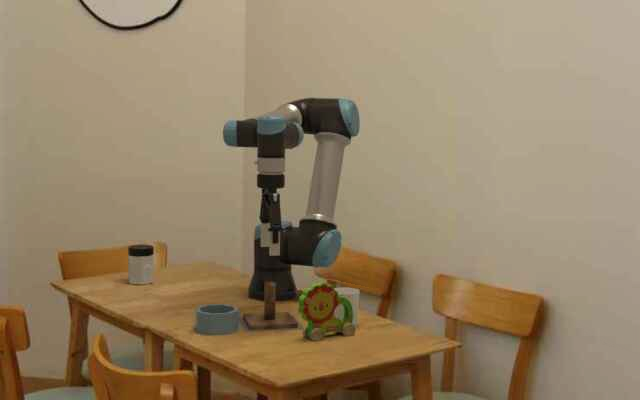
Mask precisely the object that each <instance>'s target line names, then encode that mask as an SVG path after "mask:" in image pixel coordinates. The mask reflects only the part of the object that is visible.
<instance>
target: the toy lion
mask: <svg viewBox="0 0 640 400" xmlns="http://www.w3.org/2000/svg"><path fill="white" fill-rule="evenodd" d="M339 304H343V306H344V318H343V320H340V319H338V318H336V317H335V316H334V311H335V309H336V307H337V306H338V305H339ZM297 310H298V311H297V312H298V313H299V314H301V318H302V320H304V321H306V322H307V325H306V326H304V327H303V328H304V329H302V336H303V337H304V338H306V339H308V338H309V339H310V340H311V341H312V342H321V341H323V340H324V338H325V335H326V334H329V333H338V334H342V335H343V336H344V337H351V336H354V335H355V333H356V328H357V327H356V328H355V326H354V325H353V324H352V322H353V309H352V305H351V303H350V302H349V300H347V299H346V298H344V297H341V296H339V295H338V292H337V291H335V287H334V285H331V284H328V283H326V282H324V281H318V282H317V283H311V284H310V285H308V287H306V288H304V289H303V291H302V294H301V295H300V296H299V298H298V306H297Z"/></svg>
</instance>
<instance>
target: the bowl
mask: <svg viewBox="0 0 640 400" xmlns="http://www.w3.org/2000/svg"><path fill="white" fill-rule="evenodd" d="M239 317H240V311H239V308H238V307H237V306H236V305H231V304H224V303H218V304H217V303H215V304H214V303H212V304H209V303H208V304H205V305H201V306H198V307H195V331H196V332H197V333H198V334H203V335H208V336H218V335H219V336H221V335H230V334H233V333H236V332H238V331H239V330H240V329H239V328H240V327H239V326H240V322H239Z"/></svg>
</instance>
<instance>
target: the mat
mask: <svg viewBox="0 0 640 400" xmlns="http://www.w3.org/2000/svg"><path fill="white" fill-rule="evenodd" d="M290 315H291V316H292V317H293V318H294V320H295V321H296V322H297V323H298V328H286V329H265V330H250V329H249V328H248V326H247V324H246V323H245V321H244V319H243V316H239V325H241V327H242V329H243V332H245V333H253V332H257V333H258V332H275V331H278V332H279V331H294V330H295V331H297V330H303V329H304V327H303V326H302V325H301V323H300V322H299V321H298V319H296V317H295V316H294V315H293V314H290Z"/></svg>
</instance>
